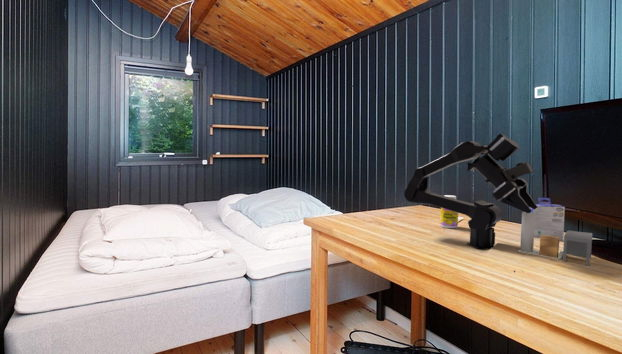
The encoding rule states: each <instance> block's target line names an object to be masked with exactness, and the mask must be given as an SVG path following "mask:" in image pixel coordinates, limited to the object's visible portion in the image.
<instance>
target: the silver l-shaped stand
mask: <svg viewBox="0 0 622 354" xmlns="http://www.w3.org/2000/svg"><path fill="white" fill-rule="evenodd" d="M534 225H535V213H531V212H530V213H526V212H524V211H522V212H521V225H520V227H521V228H520V245H519V246H520V248H519V249H518V250H517V251H516V252H517V253H522V254H523V253H524V254H529V255H534V256H540V257H546V258H550V259H551V258H552V259H557V260H561V259H563V250H559V255H558V256H557V258H556V257H551V256H545V255H539V252H540V249H535V248H534V244H535V242H534V241H535V239H534Z"/></svg>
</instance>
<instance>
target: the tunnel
mask: <svg viewBox="0 0 622 354" xmlns="http://www.w3.org/2000/svg"><path fill="white" fill-rule="evenodd" d="M593 235H594V234H593V233H592V232H586V231H585V232H584V231H583V232H582V231H576V230H569V229H568V230H567V231H566V232H565V233H564V238H563V249H562V251H563V256H562V262H565V263H566V260H567V255H570V256H576V257H580V258H581V257H582V258H586V262H585V264H586V265H585V266H587V267H590V261H591V259H592V246H593V245H592V244H593Z"/></svg>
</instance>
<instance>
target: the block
mask: <svg viewBox="0 0 622 354" xmlns="http://www.w3.org/2000/svg"><path fill="white" fill-rule="evenodd" d="M559 238H560V237H555V236H548V235H542V236H541V237H540V238H539V250H540V252H539V255H545V256H551V257H556V258H557V256H558V255H559V253H560V241H559ZM539 255H538V256H539ZM545 256H544V257H545ZM556 258H555V259H556Z"/></svg>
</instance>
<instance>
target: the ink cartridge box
mask: <svg viewBox="0 0 622 354" xmlns="http://www.w3.org/2000/svg"><path fill="white" fill-rule="evenodd" d="M543 200H544V201H543ZM545 200H546V201H545ZM535 204H536V203H535ZM536 205H537V208H536V209H532V208H530V207H529V208H530V209H531V210H532V211H531V213H535V225H534V238H535V239H540V237H541V236H542V235H548V236H555V237H560V238H559V242H564V236H565V231H564V230H565V212H566V210H565V209H566V206H564V205H561V204H553V203H552V202H551V199H550V197H538V204H536Z"/></svg>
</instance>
